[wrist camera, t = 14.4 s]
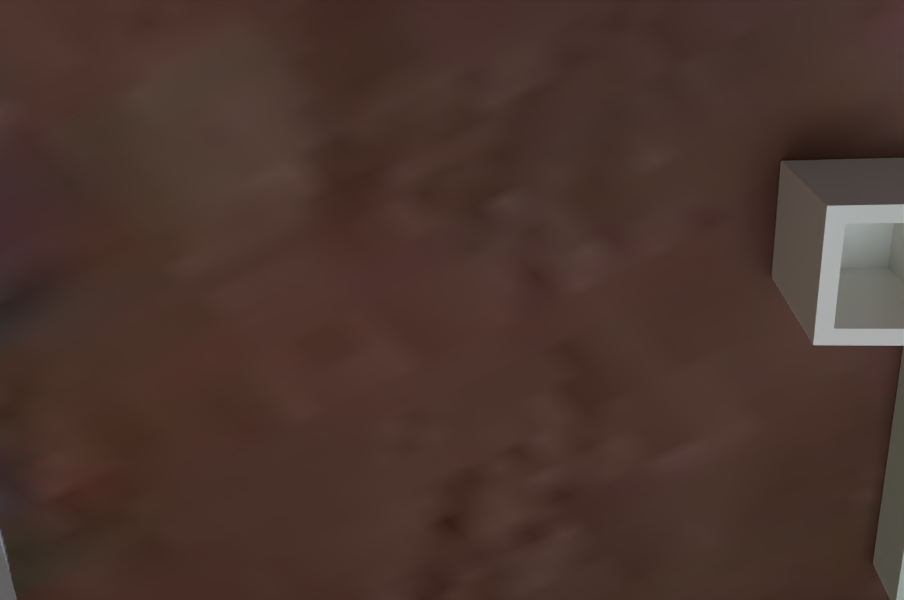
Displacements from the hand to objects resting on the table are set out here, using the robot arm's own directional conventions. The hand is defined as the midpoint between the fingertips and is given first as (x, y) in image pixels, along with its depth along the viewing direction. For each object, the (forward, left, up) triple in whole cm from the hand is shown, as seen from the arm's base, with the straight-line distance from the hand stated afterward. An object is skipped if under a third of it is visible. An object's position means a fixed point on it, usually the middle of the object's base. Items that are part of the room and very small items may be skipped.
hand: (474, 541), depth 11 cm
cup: (+5, +13, -32) cm, 35 cm away
